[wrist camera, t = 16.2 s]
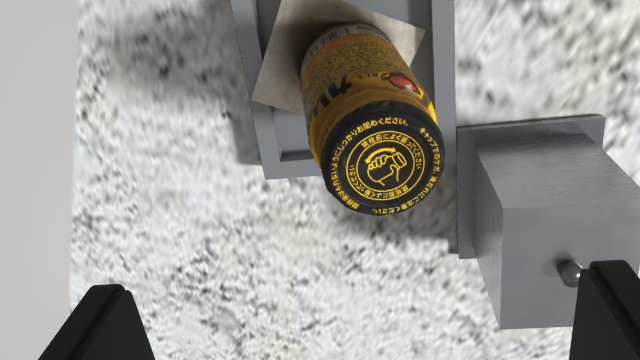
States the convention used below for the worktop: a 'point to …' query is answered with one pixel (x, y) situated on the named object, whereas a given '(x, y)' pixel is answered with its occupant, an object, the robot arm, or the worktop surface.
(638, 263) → the block
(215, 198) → the worktop surface
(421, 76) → the tray
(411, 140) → the condiment
